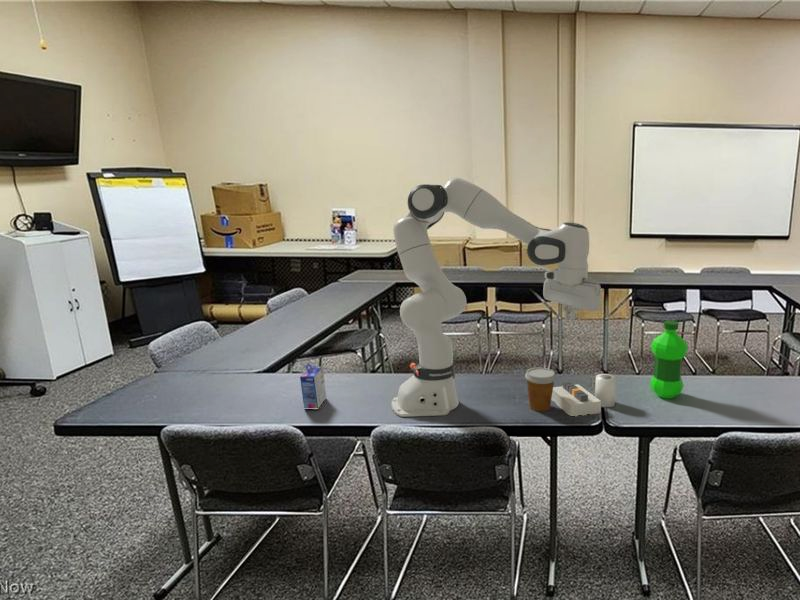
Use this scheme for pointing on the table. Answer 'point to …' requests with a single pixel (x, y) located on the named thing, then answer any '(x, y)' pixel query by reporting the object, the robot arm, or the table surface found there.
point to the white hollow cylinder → (605, 389)
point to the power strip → (575, 399)
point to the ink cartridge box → (313, 386)
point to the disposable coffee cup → (540, 388)
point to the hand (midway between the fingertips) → (569, 318)
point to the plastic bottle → (668, 361)
